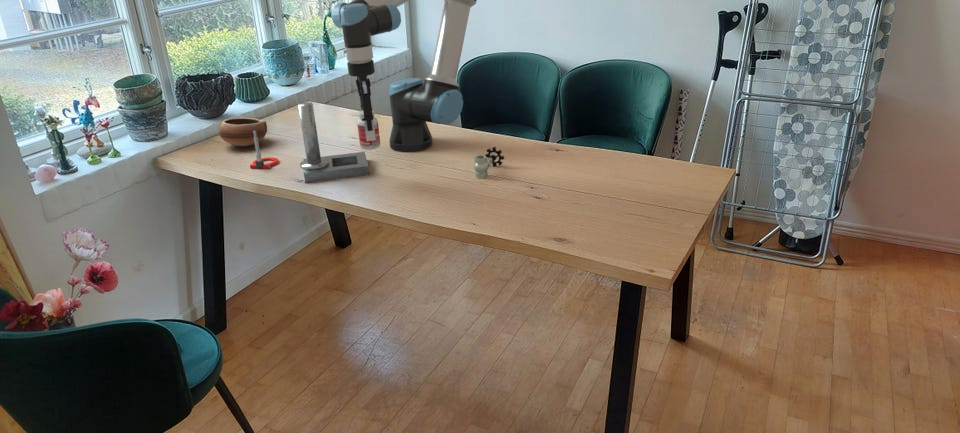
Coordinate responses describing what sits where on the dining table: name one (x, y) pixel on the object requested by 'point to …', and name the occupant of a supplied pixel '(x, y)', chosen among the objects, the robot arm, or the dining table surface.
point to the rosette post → (327, 165)
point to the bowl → (242, 131)
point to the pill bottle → (362, 135)
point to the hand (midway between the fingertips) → (370, 136)
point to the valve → (486, 163)
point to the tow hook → (259, 162)
